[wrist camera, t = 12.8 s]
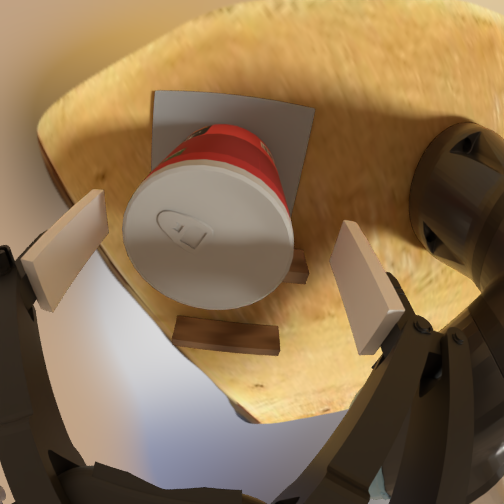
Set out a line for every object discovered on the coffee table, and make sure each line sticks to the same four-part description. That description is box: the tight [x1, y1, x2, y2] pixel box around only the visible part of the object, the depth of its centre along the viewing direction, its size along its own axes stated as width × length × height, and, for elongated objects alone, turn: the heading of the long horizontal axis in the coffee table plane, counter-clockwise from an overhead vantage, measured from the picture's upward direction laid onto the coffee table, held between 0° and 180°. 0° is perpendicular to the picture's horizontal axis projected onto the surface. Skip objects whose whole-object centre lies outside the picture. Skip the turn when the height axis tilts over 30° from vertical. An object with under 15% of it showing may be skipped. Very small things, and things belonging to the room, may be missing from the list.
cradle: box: [172, 249, 309, 356], centre depth 27 cm, size 12×12×4 cm
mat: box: [151, 91, 315, 218], centre depth 21 cm, size 12×12×1 cm
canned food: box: [122, 124, 294, 310], centre depth 16 cm, size 8×8×11 cm
